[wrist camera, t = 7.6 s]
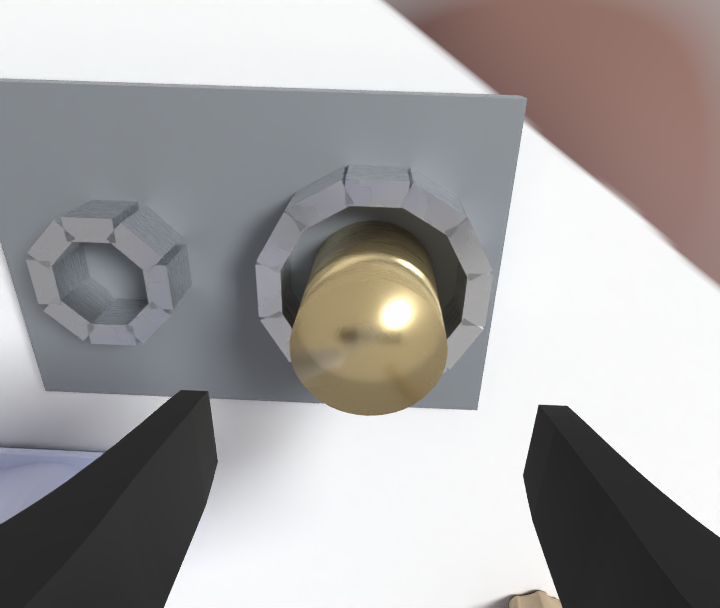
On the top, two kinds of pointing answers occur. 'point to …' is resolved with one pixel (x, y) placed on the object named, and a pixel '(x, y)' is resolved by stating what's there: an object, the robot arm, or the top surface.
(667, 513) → the robot arm
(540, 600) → the handle
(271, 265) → the wide collar
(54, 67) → the top surface
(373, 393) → the brass peg
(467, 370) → the board
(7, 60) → the top surface
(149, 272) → the narrow collar
